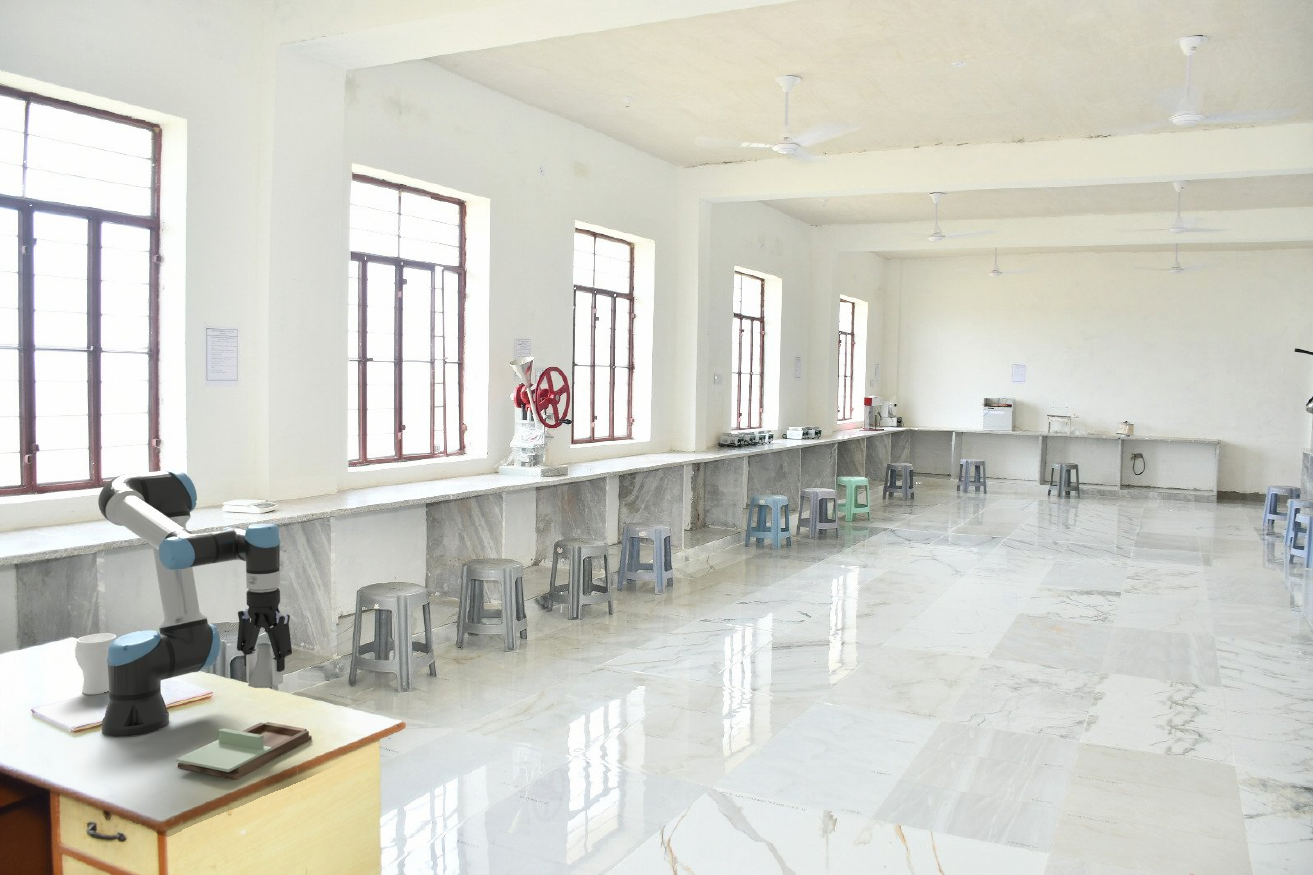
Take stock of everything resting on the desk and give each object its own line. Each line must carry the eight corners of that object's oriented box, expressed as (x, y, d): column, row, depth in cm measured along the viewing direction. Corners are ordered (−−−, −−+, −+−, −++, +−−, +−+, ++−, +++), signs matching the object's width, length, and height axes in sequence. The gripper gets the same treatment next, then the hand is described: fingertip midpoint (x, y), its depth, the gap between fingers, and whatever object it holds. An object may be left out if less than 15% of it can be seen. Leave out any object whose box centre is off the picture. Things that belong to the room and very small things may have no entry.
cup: (127, 688, 277) (126, 636, 276) (89, 699, 268) (87, 645, 267) (107, 681, 282) (105, 630, 281) (68, 691, 274) (67, 639, 272)
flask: (269, 690, 233) (268, 649, 232) (242, 687, 234) (241, 646, 233) (286, 680, 240) (286, 640, 239) (260, 678, 241) (259, 638, 240)
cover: (176, 761, 222) (176, 746, 222) (221, 740, 235) (221, 725, 234) (228, 772, 217) (228, 756, 217) (271, 749, 229) (271, 734, 229)
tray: (177, 767, 225) (177, 756, 225) (256, 729, 248) (256, 720, 248) (236, 779, 219) (235, 768, 219) (311, 739, 242) (311, 729, 242)
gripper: (218, 588, 235) (220, 681, 237) (286, 596, 228) (287, 692, 230) (241, 581, 242) (243, 672, 244) (307, 589, 235) (309, 682, 237)
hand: (264, 681), depth 237 cm, fingers closed on flask, 7 cm apart
